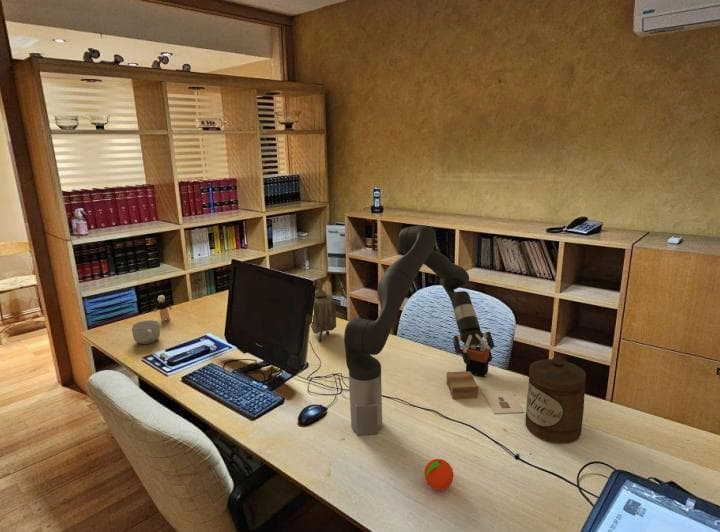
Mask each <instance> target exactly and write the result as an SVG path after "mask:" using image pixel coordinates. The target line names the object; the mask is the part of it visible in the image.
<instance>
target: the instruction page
mask: <svg viewBox="0 0 720 532" xmlns="http://www.w3.org/2000/svg"><path fill="white" fill-rule="evenodd" d="M482 394H483V396H484V397H485V399H486V402H487V404H488V405H489V407H490V409H491V411H492V413H493V415H495V414H498V415H499V414H516V413H517V414H518V413H524V410H523V408H522V407H521V405H520V404H519V402H518V401H517V399H516V398H515V396H514V394H513V393H512V391H511V390H498V391H497V390H496V391H483V392H482Z"/></svg>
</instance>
